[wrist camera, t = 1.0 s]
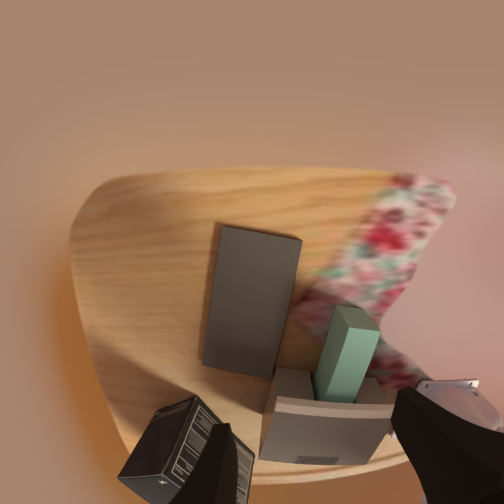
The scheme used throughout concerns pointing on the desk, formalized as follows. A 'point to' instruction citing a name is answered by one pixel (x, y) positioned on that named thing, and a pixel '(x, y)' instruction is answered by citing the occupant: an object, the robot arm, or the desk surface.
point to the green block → (345, 355)
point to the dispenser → (321, 423)
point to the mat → (249, 300)
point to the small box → (177, 453)
